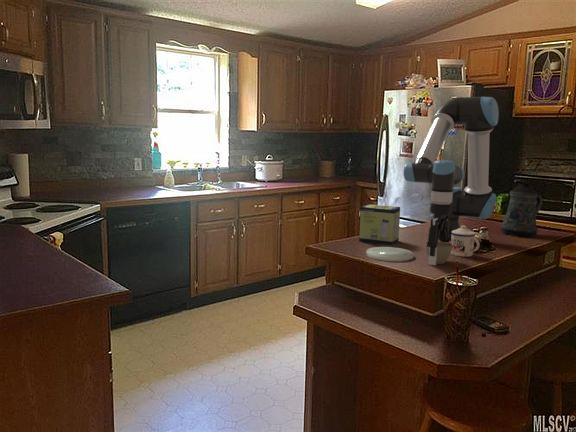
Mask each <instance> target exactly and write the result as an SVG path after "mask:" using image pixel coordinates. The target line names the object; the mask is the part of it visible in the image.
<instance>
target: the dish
mask: <svg viewBox="0 0 576 432" xmlns="http://www.w3.org/2000/svg"><path fill="white" fill-rule="evenodd" d="M366 256H367V257H369V258H370V259H373V260H376V261H383V262H397V263H398V262H400V263H401V262H409V261H411V260H413V259H414V256H415V255H414V252H412V251H411V250H408V249H405V248H400V247H392V246H375V247H370V248H367V249H366Z"/></svg>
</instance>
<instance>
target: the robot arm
mask: <svg viewBox="0 0 576 432" xmlns="http://www.w3.org/2000/svg"><path fill="white" fill-rule="evenodd" d="M499 117H500V113H499V105H498V102H497V100H496V99H495V98H494V97H492V96H466V97H462V96H458V97H454V98H451V99H449V100H447V101H446V102H445V103H443V104H442V105H441V106H440V107H438V109H437V110H436V111H435V112H434V113H433V115H432V117H431V125H430V128H429V130H428V132H427V134H426V136H425V138H424V140H423V142H422V145H421V147H420V149H419V151H418V153H417V155H416V157H415V160H414V161H413V162H406V164H405V165H404V167H403V177H404V180H405V181H406V182H409V183H410V182H411V183H419V184H420V183H423V184H431V192H430V193H429V195H430V196H431V197H430V201H431V203H430V207H429V208H430V209H429V212H430V213H431V214H432V215H433V216H432V218H431V219H430V226H429V227H428V228H429V229H428V232H427V236H428V238H427V242H428V244H427V247H429V258H428V260H427V261H428V262H427V264H428V265H432V266H437V264H436V260H437V242H438V241H439V242H446V243H450V241H451V237H452V234H451V232H452V231H453V230H457V229H459V228H461V225H460V217H462V218H464V217H465V218H472V219H480V220H481V219H482V220H483V219H485V220H487V219H490V218H491V217H492V214H493V212H494V210H495V206H496V201H497V195H496V193H492V192H493V189H492V187H491V186H489V176H490V175H489V169H490V168H489V166H490V137H491V136H490V133H491V132H492V131H493V130H494V128H495V126H497V125H498V122H499ZM455 126H464V132H466V133H467V186H465V187H464V189H463V190H462V187H458V186H457V187H454V185H455V186H456V185H458V184H459V183H461V182H462V181H463V180H464V178H465V170H464V168H463V167H461V166H460V165H459V164H456V162H455V161H454V160H453V161H452V160H437V158H438V155H439V154H440V151H441V149H442V147H443V145H444V142H445V141H446V138H447V136H448V134H449V132H450V131H451V130H452V129H453V128H454V127H455Z"/></svg>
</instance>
